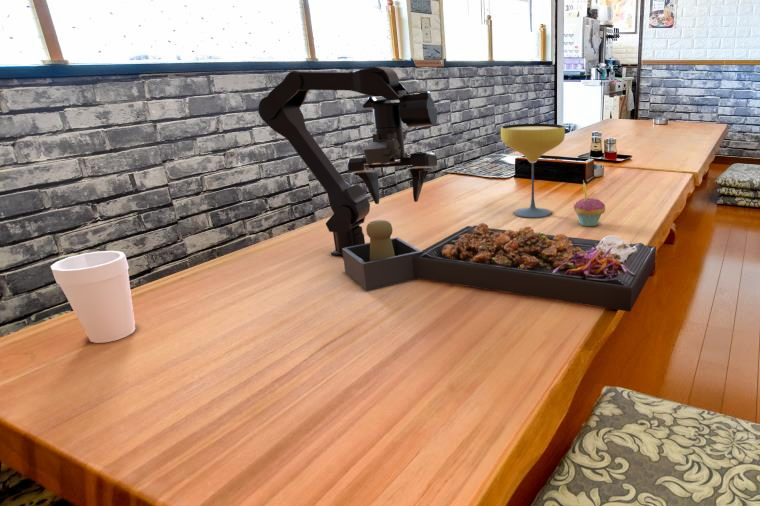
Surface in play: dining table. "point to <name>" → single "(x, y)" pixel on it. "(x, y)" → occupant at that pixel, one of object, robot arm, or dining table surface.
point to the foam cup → (98, 293)
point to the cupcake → (589, 210)
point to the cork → (380, 239)
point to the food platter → (541, 265)
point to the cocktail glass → (532, 151)
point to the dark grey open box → (380, 265)
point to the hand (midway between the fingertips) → (396, 202)
